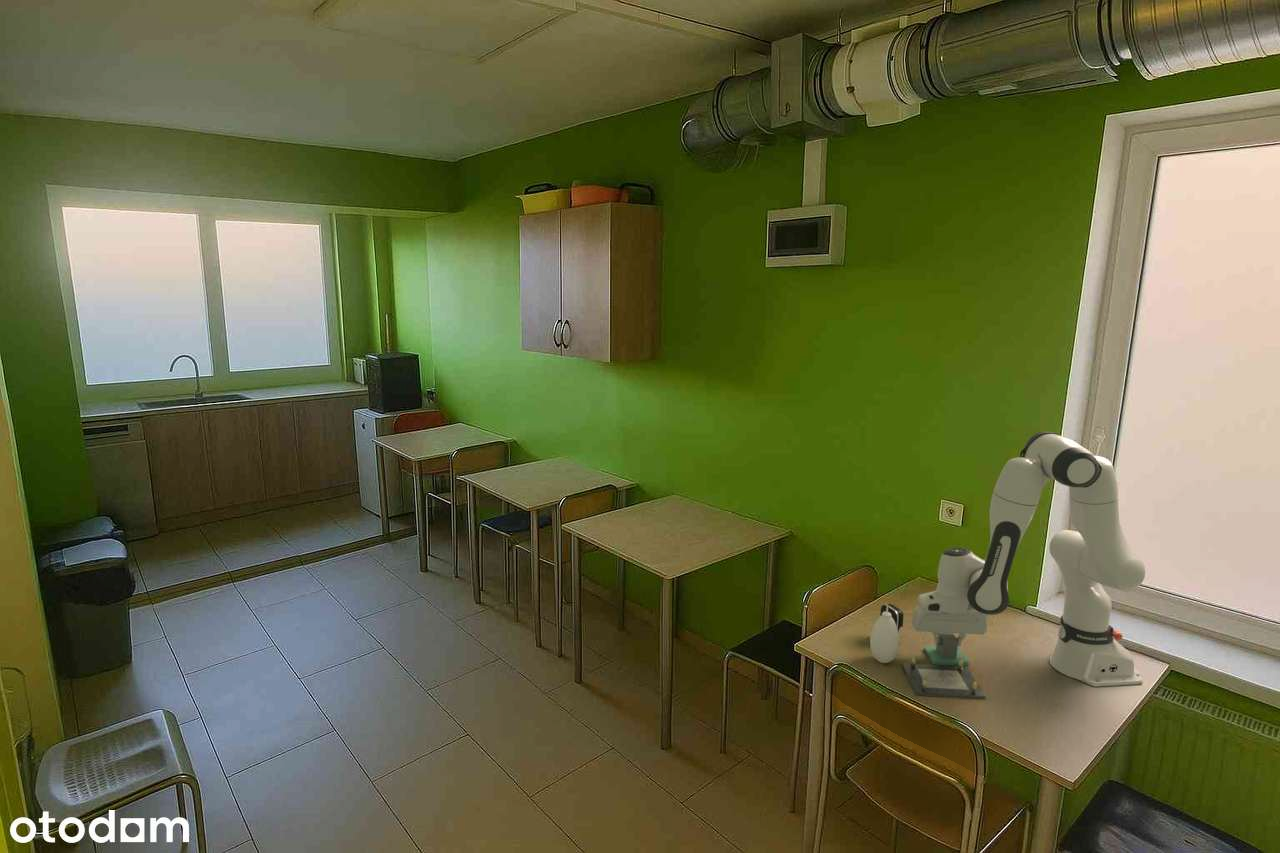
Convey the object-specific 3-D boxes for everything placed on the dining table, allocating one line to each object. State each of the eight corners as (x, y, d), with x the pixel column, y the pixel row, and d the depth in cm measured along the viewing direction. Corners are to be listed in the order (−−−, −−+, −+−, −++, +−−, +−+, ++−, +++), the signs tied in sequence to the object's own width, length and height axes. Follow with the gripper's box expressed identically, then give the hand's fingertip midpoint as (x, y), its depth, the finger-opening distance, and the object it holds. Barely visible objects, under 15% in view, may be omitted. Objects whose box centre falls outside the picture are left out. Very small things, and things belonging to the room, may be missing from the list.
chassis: (966, 669, 200) (968, 657, 199) (985, 698, 186) (987, 686, 185) (902, 665, 201) (903, 654, 201) (915, 694, 188) (917, 682, 187)
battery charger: (903, 645, 212) (906, 610, 210) (893, 647, 211) (896, 613, 209) (887, 634, 219) (890, 600, 216) (877, 636, 217) (880, 602, 215)
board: (957, 650, 209) (960, 629, 208) (968, 665, 202) (971, 643, 200) (923, 649, 210) (925, 628, 208) (933, 664, 202) (935, 642, 201)
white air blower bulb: (872, 651, 209) (876, 596, 205) (899, 658, 205) (904, 602, 201) (865, 663, 203) (870, 607, 198) (893, 671, 199) (899, 614, 195)
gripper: (985, 598, 204) (979, 640, 207) (912, 595, 206) (908, 637, 209) (993, 608, 198) (988, 652, 201) (918, 605, 200) (914, 648, 203)
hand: (947, 644), depth 205 cm, fingers closed on board, 4 cm apart
